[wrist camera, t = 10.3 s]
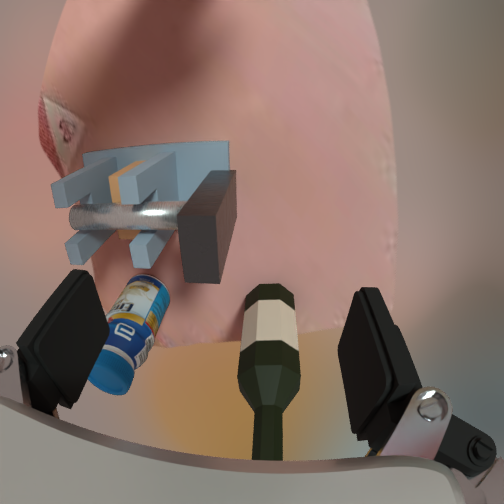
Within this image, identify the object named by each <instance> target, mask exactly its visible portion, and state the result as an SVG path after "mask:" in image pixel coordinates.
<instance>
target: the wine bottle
mask: <svg viewBox="0 0 504 504" xmlns="http://www.w3.org/2000/svg"><path fill="white" fill-rule="evenodd" d="M300 377H301V374H300V361H299V349H298V338H297V326H296V316H295V305H294V295H293V294H292V293H291V292H290V291H288V290H287V289H286V288H285V287H283V286H282V285H281V284H259V285H258V286H257V287H256V288H254V289H253V290H252V291H251V292H250V293H249V294H248V295H247V296H246V303H245V312H244V321H243V330H242V339H241V348H240V357H239V366H238V375H237V378H238V383H239V389H240V392H241V393H242V395H243V396H244V398H245V399H246V401H247V402H248V404H249V405H250V407H251V408H252V409H253V411H254V413H255V415H254V433H253V449H252V460H264V461H283V439H282V438H283V431H282V430H283V429H282V413H283V412H284V410H285V409H286V408H287V406H288V405H289V404H290V402H291V401H292V399H293V398H294V397H295V395H296V394H297V393H298V391H299V389H300Z"/></svg>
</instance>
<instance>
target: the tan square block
mask: <svg viewBox="0 0 504 504" xmlns="http://www.w3.org/2000/svg"><path fill="white" fill-rule="evenodd" d="M144 161H146V160H144ZM144 161H135V162H133V163H131V164H130V165H128V166H126V167H124V168H122V169H121V170H119V171H117V172H115V173H114V174H112V175H110V176H109V177H108V178H109V185H110V191H111V197H112V203H117V202H121V197H120V190H119V183H118V177H119V176H121V175H122V174H124V173H126V172H127V171H129V170H131V169H132V168H134V167H136V166H137V165H139V164H141V163H143V162H144ZM140 231H141V230H118V235H119V239H134V238H135V237H136V236H137V235H138V233H139V232H140Z"/></svg>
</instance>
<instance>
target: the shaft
mask: <svg viewBox="0 0 504 504" xmlns="http://www.w3.org/2000/svg"><path fill="white" fill-rule="evenodd" d="M236 218H237V201H236V170H211V171H210V172H209V173H208V175H207V176H206V177H205V178H204V180H203V181H202V182H201V184H200V185H199V186H198V188H197V189H196V190H195V192H194V193H193V194H192V195H191V197H190V198H189V199H188V201H144V202H141V203H140V204H128V205H122V203H121V202H117V203H97V204H79V205H74V206H73V207H72V208H71V210H70V213H69V222H70V225H71V227H72V228H73V229H74V230H178V234H179V242H180V250H181V258H182V265H183V272H184V279H185V282H188V283H211V284H220V282H221V278H222V274H223V270H224V266H225V262H226V258H227V254H228V250H229V246H230V242H231V238H232V234H233V230H234V226H235V222H236Z"/></svg>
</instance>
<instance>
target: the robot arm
mask: <svg viewBox="0 0 504 504" xmlns="http://www.w3.org/2000/svg"><path fill="white" fill-rule="evenodd" d="M109 333H110V328H109V325H108V322H107V319H106V316H105V314H104V311H103V308H102V305H101V302H100V299H99V296H98V293H97V290H96V287H95V283H94V280H93V277H92V276H91V275H90V274H89V273H88V271H85V270H77V269H74V270H72V271H71V272H70V273H69V274H68V276H67V277H66V278H65V279H64V280H63V281H62V283H61V284H60V285H59V286H58V288H57V289H56V290H55V291H54V293H53V294H52V295H51V296H50V298H49V299H48V300H47V301H46V303H45V304H44V305H43V306H42V308H41V309H40V310H39V312H38V313H37V314H36V316H35V317H34V318H33V320H32V321H31V322H30V324H29V325H28V327H27V328H26V330H25V331H24V332H23V334H22V335H21V337H20V338H19V339H18V341H17V342H16V344H17V345H18V347H19V349H18V351H17V350H16V349H15V348H14V347H12V346H7V345H6V346H1V347H0V504H504V460H503V459H502V457H500V458H498V459H497V458H496V446H495V443H494V441H493V440H492V438H491V437H490V436H488V435H487V434H485V433H484V432H482V431H480V430H479V429H477V428H475V427H473V426H471V425H470V424H468V423H466V422H465V421H463V420H461V419H460V418H458V417H456V416H454V415H453V414H452V410H453V409H452V403H451V401H450V398H449V397H448V396H447V395H446V393H445V392H443V391H442V390H440V389H438V388H435V387H424V388H422V385H421V382H420V379H419V377H418V374H417V371H416V369H415V366H414V364H413V361H412V358H411V356H410V353H409V351H408V348H407V346H406V343H405V341H404V338H403V336H402V333H401V331H400V329H399V328H398V326H397V325H394V323H393V320H392V318H391V316H390V313H389V311H388V309H387V306H386V304H385V302H384V300H383V297H382V295H381V293H380V291H379V289H378V288H375V287H362V288H361V289H360V291H356V292H355V293H354V296H353V300H352V303H351V307H350V310H349V313H348V316H347V320H346V323H345V326H344V330H343V332H342V335H341V338H340V341H339V345H338V358H339V363H340V368H341V373H342V378H343V384H344V389H345V395H346V401H347V407H348V412H349V419H350V424H351V431H352V433H354V434H357V440H358V441H362V440H368V444H369V447H370V450H369V451H368V452H367V454H366V455H365V457H357V458H344V459H333V460H332V459H331V460H308V461H264V460H244V459H229V458H220V457H211V456H203V455H195V454H188V453H182V452H176V451H171V450H165V449H160V448H155V447H151V446H146V445H142V444H137V443H133V442H129V441H125V440H122V439H118V438H114V437H111V436H107V435H103V434H101V433H97V432H94V431H91V430H88V429H85V428H82V427H79V426H76V425H74V424H71V423H68V422H65V421H63V420H60V419H59V416H58V412H57V408H56V407H57V404H58V403H59V404H60V405H61V406H63V407H66V408H69V409H71V408H72V406H73V404H74V403H76V402H77V401H78V399H79V397H80V394H81V392H82V390H83V387H84V386H85V383H86V381H87V379H88V377H89V375H90V373H91V371H92V369H93V367H94V365H95V363H96V360H97V358H98V356H99V354H100V352H101V350H102V348H103V346H104V344H105V342H106V341H107V339H108V337H109Z"/></svg>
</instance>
